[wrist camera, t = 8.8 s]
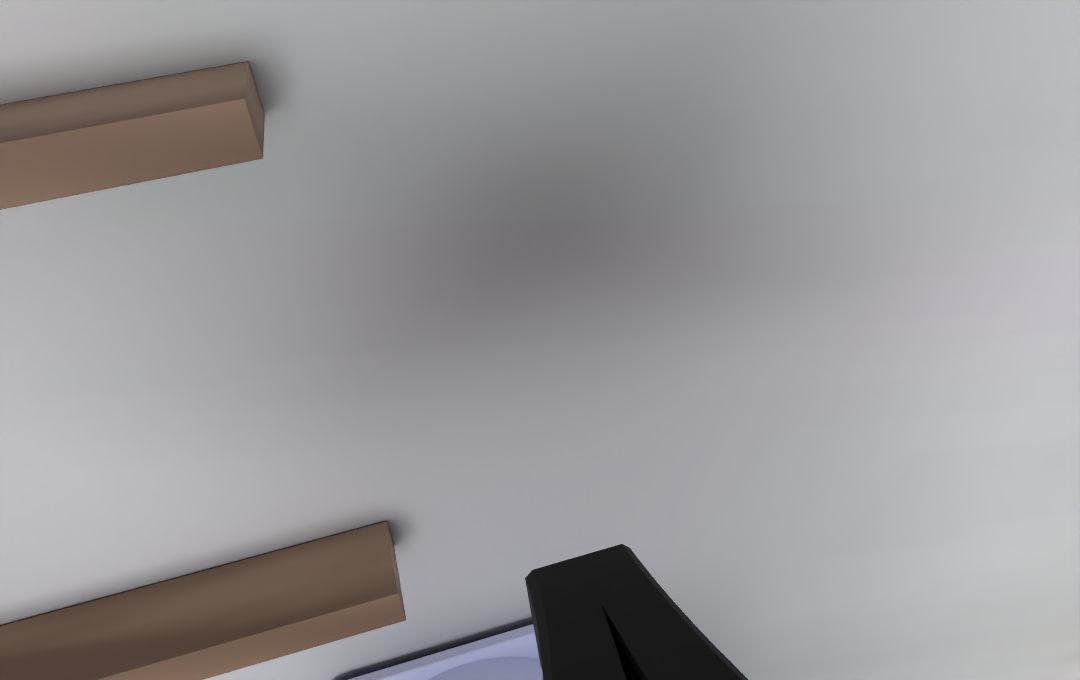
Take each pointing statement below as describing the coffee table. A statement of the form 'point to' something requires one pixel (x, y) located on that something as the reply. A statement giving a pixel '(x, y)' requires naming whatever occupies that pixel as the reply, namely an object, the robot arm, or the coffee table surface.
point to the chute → (230, 590)
